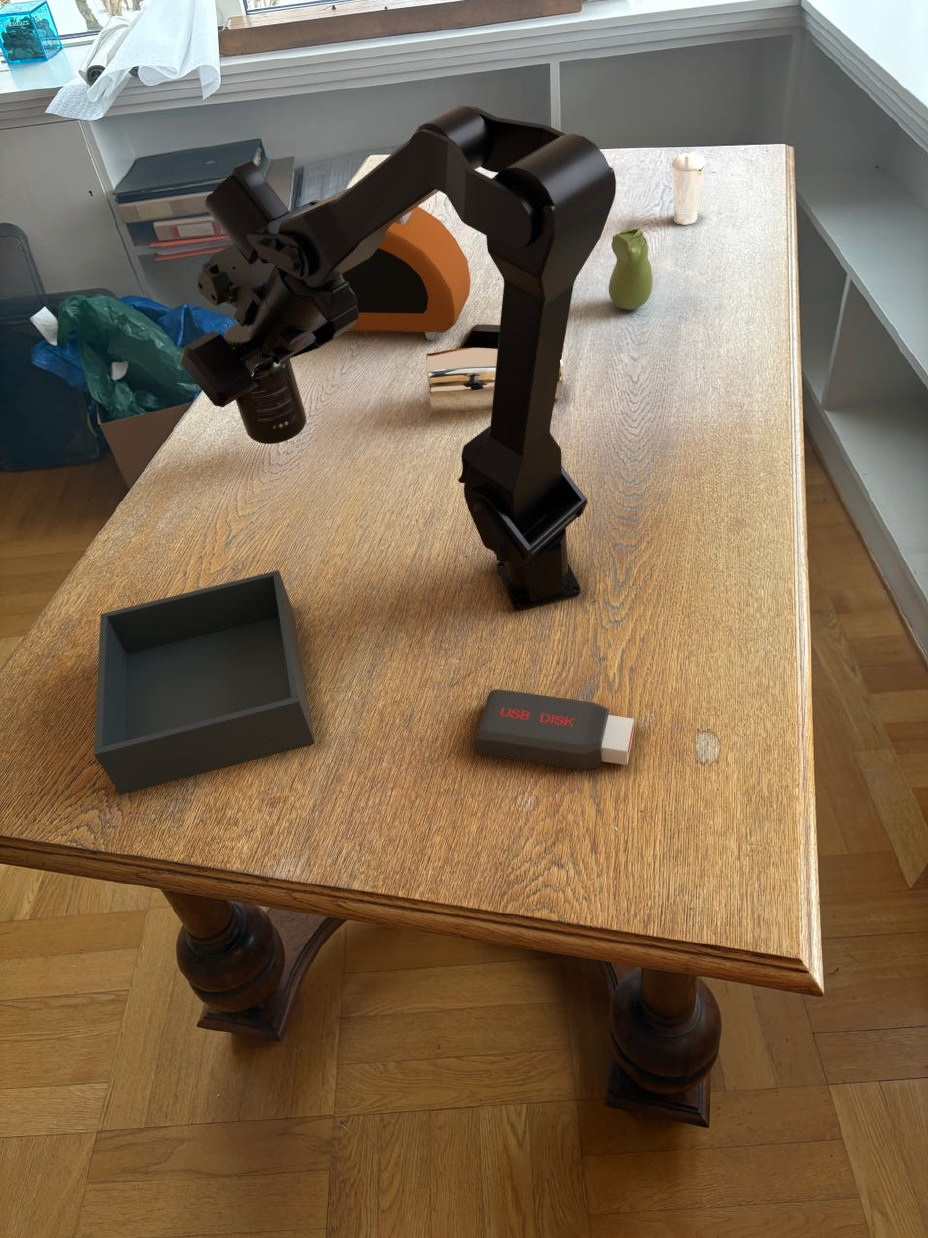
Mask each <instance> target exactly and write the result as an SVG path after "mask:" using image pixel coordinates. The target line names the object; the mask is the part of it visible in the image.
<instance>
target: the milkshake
mask: <svg viewBox="0 0 928 1238" xmlns="http://www.w3.org/2000/svg"><path fill="white" fill-rule="evenodd" d="M671 167H672V168H671V170H672V171H671V172H672V187H673V189H672V190H673V191H672V192H673V221H674V223H676V224H677V225H682V226H688V225H692V224H695V223H696V222H697V221H698V215H699V206H700V201H701V193H702V186H703V181H704V174H705V169H706V159H705V157H704V156H703V155H702V154H700V153H699V152H693V151H692V152H686V153H680V154H678V155H677V156H676V157H675V158H674V159H673V160H672V161H671Z"/></svg>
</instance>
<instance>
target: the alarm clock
mask: <svg viewBox="0 0 928 1238" xmlns="http://www.w3.org/2000/svg"><path fill="white" fill-rule="evenodd" d="M342 277H343V279H344V281H347V282H348V284H349V287H350V289H351V290H352V291H353V293H354V294H355V296H356V300H357V308H358V313H359V318H358V320H357V321H356V323H355V324H354V326H353V327H351V328H350V329H348V330H347V331H352V332H353V331H355V332H356V331H357V332H402V333H403V332H410V333H424V335H425V337H426V339H427V340H431V341H432V340H434V338H435V337H436V335H437V333H447V332H448V331H449V330H450V329H451V328H452V327H454V326H455V325H456V323H457V322H458V319H459V318H460V315H461V313H462V311H463V309H464V307H465V305H466V303H467V301H468V299H469V297H470V291H471V282H472V280H471V273H470V269H469V262H468V258H467V257H466V255H465V253H464V252H463V250H462V248H461V246H460V244H459V243H458V241H457V239H456V237H454V235H453V234H452V233H451V232H450V230H449V229H448V228H447V226H446V225H444V223H443V222H442V221H441V220H440V219H438V218H437V217H435V215H433V214H431V213H430V212H428V210H427V211H426V210H425V209H424V208H421V207H419V206H417V207H416V208H414V209H413V210H411V211H410V212H409V213H407V214H406V215H404V216H403V217H401V218H400V219H399V220H397V221H396V222H394V223H393V224H392V225H391V226H390V227H389V229H388V230H387V231H386V238H385V240H384V241H383V242H382V244H381V245H380V246H379V247H378V249H377V250H376V251H375V252H374V254H373V255H372V256H371V257H370V258H368V259H367V260H365V261H363V262H361V263H360V264H358V265H356V266H355V267H353V268H351V269H349V270H348V271H346V272H344V273H343V274H342Z"/></svg>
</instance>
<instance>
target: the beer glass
mask: <svg viewBox="0 0 928 1238" xmlns="http://www.w3.org/2000/svg"><path fill="white" fill-rule="evenodd" d="M497 351H498V349H491V348H461V349H459V348H454V349H447V350H442V351H436V352H429V353H428V352H427V353H426V371H427V373H426V375H427V383H428V394H429V402H430V409H431V412H432V413H435V412H436V413H438V412H439V413H441V412H444V413H451V412H452V413H453V412H454V413H455V412H457V413H458V412H470V411H479V410H485V409H489V408H492V403H493V393H494V382H495V372H496V362H497ZM563 396H564V367H563V358H562V359H561V365H560V371H559V377H558V383H557V389H556V395H555V400H562V398H563Z"/></svg>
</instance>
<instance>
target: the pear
mask: <svg viewBox="0 0 928 1238" xmlns="http://www.w3.org/2000/svg"><path fill="white" fill-rule="evenodd" d="M611 241H612V242H611V250H612V252H613V253H614V256H615V258H616V262H615V265H614V266H613V267H614V268H613V270H612V272H611V275H610V280H609V282H608V294H609V295H608V296H609V297H610V300H611V301H612V303H613V304H614V305H615V307H617V308H619V309H621V310H626V311H632V310H635V309H639V308H640V307H642V306H644V305H645V304H646V303H647V302H648V301H649V299H650V297H651V294H652V290H653V284H654V283H653V282H654V277H653V270H652V264H651V262H650V260H649V245H648V240H647V239H646V238H645V237H644V232H643V231H642V229H641V227H638V228H634V227H627V228H625V229H623V230H622V231H620V232H619V233H616V234H615V235H612V240H611Z"/></svg>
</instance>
